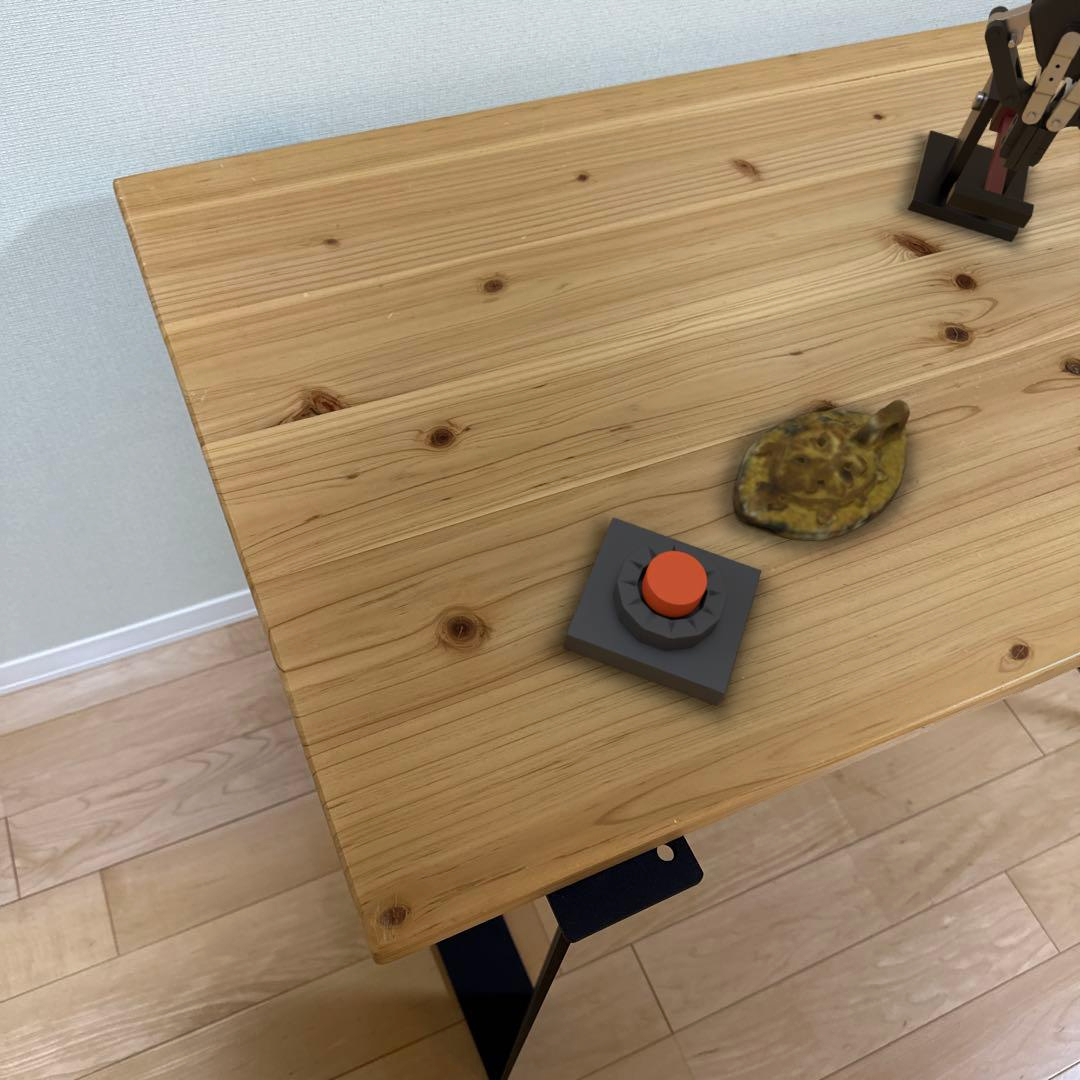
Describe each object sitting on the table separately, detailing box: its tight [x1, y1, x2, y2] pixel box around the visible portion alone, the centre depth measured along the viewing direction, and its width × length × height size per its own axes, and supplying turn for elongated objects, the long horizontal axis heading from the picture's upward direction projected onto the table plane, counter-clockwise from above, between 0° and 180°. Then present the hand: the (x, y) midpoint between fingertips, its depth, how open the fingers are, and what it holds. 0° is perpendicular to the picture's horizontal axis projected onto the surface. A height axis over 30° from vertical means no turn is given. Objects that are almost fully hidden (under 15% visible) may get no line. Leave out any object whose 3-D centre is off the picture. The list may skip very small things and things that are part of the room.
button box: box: [562, 517, 762, 707], centre depth 60 cm, size 10×9×4 cm
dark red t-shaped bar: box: [946, 102, 1035, 229], centre depth 76 cm, size 13×6×2 cm, turn 160°
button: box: [642, 551, 707, 617], centre depth 58 cm, size 4×4×2 cm
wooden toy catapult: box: [907, 70, 1056, 243], centre depth 81 cm, size 10×9×10 cm
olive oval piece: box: [733, 398, 911, 541], centre depth 67 cm, size 9×5×15 cm
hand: (1013, 162), depth 70 cm, fingers closed
